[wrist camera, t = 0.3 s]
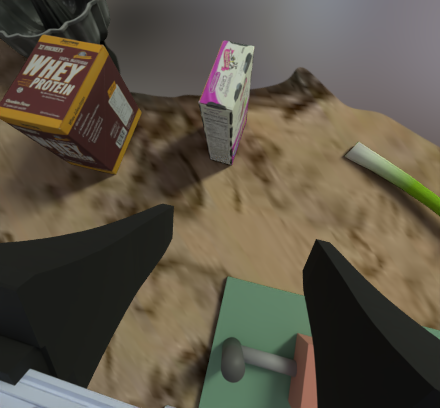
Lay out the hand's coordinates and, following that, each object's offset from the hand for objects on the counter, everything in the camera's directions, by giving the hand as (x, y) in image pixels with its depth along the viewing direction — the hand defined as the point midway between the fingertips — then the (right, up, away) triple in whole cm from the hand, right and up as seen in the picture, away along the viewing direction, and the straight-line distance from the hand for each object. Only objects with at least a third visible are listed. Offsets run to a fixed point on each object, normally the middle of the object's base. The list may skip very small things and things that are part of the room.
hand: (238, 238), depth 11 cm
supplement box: (-25, +16, +35) cm, 46 cm away
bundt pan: (-38, +43, +44) cm, 73 cm away
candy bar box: (+1, +15, +34) cm, 37 cm away
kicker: (+6, -22, +22) cm, 31 cm away
